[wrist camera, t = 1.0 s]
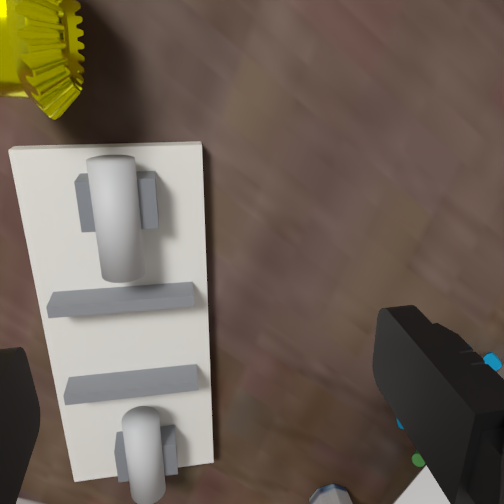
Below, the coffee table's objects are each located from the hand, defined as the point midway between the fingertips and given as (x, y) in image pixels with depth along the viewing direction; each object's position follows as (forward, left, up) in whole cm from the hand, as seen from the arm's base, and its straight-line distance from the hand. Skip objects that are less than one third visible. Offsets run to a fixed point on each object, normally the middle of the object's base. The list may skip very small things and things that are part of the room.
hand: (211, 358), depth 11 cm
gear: (-7, -7, -21) cm, 23 cm away
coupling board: (+12, -4, -21) cm, 24 cm away
